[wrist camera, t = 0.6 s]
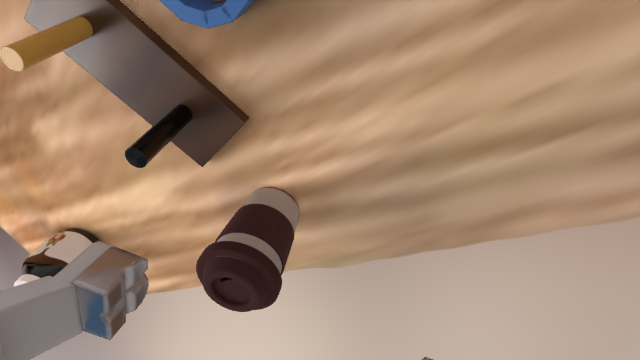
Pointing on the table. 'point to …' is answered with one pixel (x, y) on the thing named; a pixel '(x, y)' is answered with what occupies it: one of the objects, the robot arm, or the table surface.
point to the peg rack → (132, 74)
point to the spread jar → (54, 254)
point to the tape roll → (208, 11)
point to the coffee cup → (250, 253)
